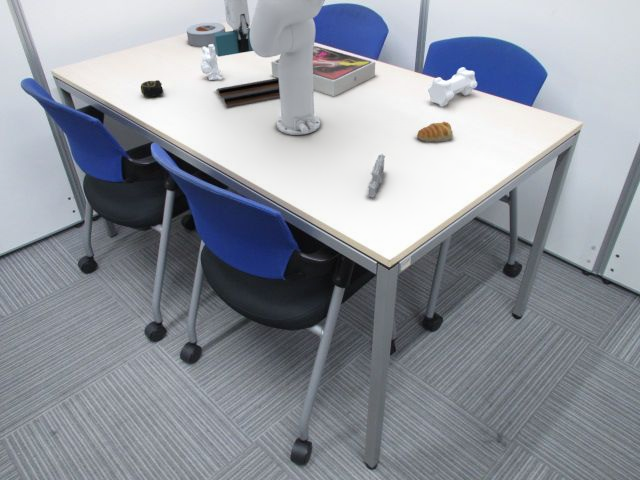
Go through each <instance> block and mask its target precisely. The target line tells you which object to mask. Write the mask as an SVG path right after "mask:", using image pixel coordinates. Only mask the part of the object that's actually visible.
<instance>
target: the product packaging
mask: <svg viewBox="0 0 640 480" xmlns="http://www.w3.org/2000/svg"><path fill="white" fill-rule="evenodd" d="M270 63H271V65H270V66H271V76H272V77H274V78H278V63H279V58H277V59H275V60H272V61H271V62H270ZM374 77H376V61H374V60H370V59H366V58H364V57H363V58H362V57H359V56H355V55H351V54H348V53H343V52H340V51H338V50H333V49H329V48H326V47H323V46H318V45H315V44H314V47H313V90H314V91H315V92H319V93H322V94H325V95H328V96H331V97H336V96H338V95H340V94H342V93H344V92H346V91H348V90H351V89H353V88H354V87H356V86H358V85H361V84H362V83H364V82H367V81H368V80H370V79H373V78H374Z"/></svg>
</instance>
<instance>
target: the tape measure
mask: <svg viewBox="0 0 640 480" xmlns="http://www.w3.org/2000/svg"><path fill="white" fill-rule="evenodd" d="M140 93H141V94H142V95H143V96H144V97H150V98H152V97H157V96H161V95H163V94H164V88H163V86H162V82H161V81H160V80H159V79H157V80H147V81H144V82H142V83H141V84H140Z"/></svg>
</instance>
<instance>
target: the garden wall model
mask: <svg viewBox="0 0 640 480" xmlns="http://www.w3.org/2000/svg"><path fill="white" fill-rule="evenodd" d="M385 158H386V155H384V154H383V153H381V154H378V156H377V158H376V160H375V162H374V165H372V170H371V172H370V175H371V181H369V185H368V186H367V188H368V198H372V199H374V198H375V196H376V194H377V191H378V189H379V187H380V186H379V185H381V184H382V181H383V176H384V171H385Z"/></svg>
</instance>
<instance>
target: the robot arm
mask: <svg viewBox="0 0 640 480" xmlns="http://www.w3.org/2000/svg"><path fill="white" fill-rule="evenodd" d="M325 1H326V0H257V2H256V6H255V10H254V12H253V16H252V20H250V13H249V12H250V11H249V3H248V0H224V11H225V21H226V24H227V25H228V26H229V27H230V28H232V31H234V30H237V34H238V39H237V42H238V51H239V53H238V54H243V53H242V52H244V53H249V52H248V51H249V44H248V35H247V34H248V31H247V28H250V43H251V47H252V49H253V51H252V52H254V54H255V55H257V56H259V57H261V58H266V59H267V58H273V57H276V56H279V55H280V56H279V58H278V59H279V63H278V78H279V91H280V98H279V103H280V116H281V117H279V118H278V119H277V121H276V128H277V130H278V131H279V132H281V133H284V134H287V135H292V136H303V135H308V134H311V133H314V132H316V131H317V130H318V129H319V128H320V127H321V120H320V118H319V117H318V116H316V115H315V95H314V94H315V93H314V91H315V90H313V47H314V45H315V40H316V29H317V28H316V23H315V20H314V18H316V17H317V16H318V15H319V13H320V11H321V10H322V8H323V5H324V4H325ZM250 21H251V22H250ZM240 31H242V32H240Z"/></svg>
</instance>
